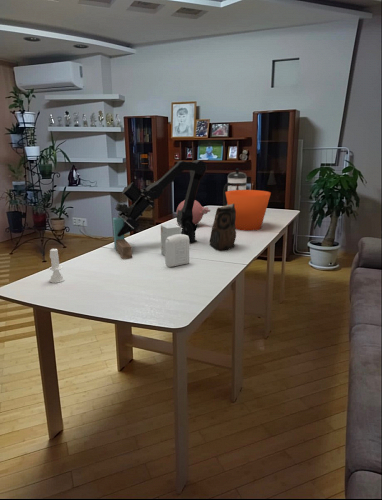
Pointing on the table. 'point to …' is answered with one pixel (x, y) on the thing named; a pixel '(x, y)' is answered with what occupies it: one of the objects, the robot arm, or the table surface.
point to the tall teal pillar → (117, 229)
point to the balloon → (195, 211)
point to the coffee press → (234, 183)
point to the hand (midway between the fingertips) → (115, 233)
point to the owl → (224, 228)
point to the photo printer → (176, 250)
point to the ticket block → (124, 248)
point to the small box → (168, 234)
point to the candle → (55, 267)
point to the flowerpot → (248, 208)
